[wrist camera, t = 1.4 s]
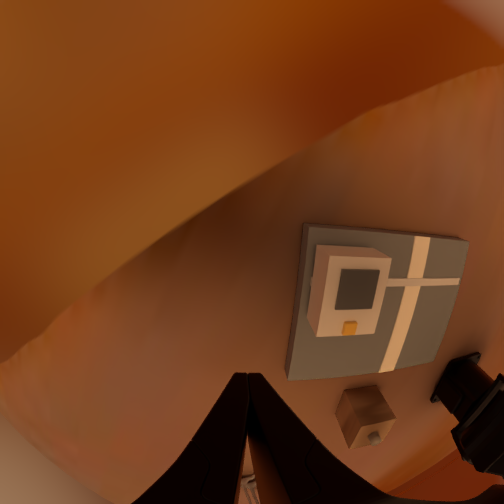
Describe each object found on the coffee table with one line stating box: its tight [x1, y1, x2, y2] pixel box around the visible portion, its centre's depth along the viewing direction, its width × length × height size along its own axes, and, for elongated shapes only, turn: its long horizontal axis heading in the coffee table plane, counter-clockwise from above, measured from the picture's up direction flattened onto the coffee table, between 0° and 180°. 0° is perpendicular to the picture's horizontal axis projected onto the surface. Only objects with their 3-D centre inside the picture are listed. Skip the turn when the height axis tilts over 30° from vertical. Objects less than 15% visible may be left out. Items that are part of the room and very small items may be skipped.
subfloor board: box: [285, 223, 469, 381], centre depth 19 cm, size 15×12×2 cm
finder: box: [307, 245, 392, 337], centre depth 16 cm, size 4×5×3 cm
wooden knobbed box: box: [335, 385, 396, 449], centre depth 20 cm, size 4×4×6 cm
